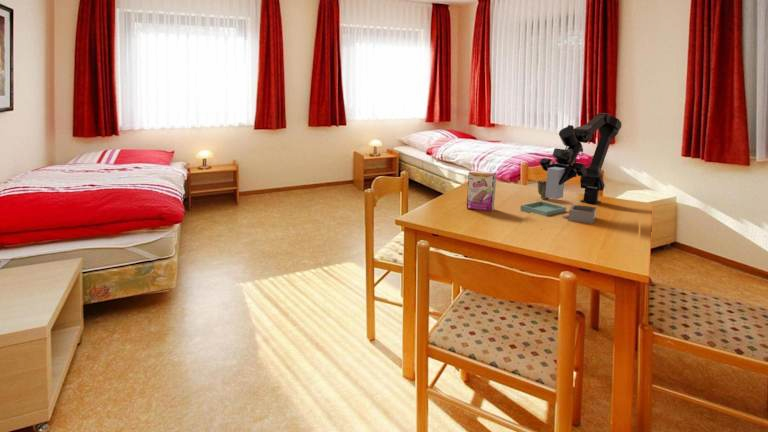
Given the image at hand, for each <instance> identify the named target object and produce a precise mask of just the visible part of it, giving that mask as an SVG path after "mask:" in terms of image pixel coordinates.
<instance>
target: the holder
mask: <svg viewBox="0 0 768 432" xmlns="http://www.w3.org/2000/svg"><path fill="white" fill-rule="evenodd" d="M570 206H571V207H570V208H569V211H568V219H567V220H568V222H575V223H584V224H594V222H595V219H596V214H597V207H596V206H589V205H581V204H579V205H578V204H572V205H570Z"/></svg>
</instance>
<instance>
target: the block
mask: <svg viewBox="0 0 768 432" xmlns="http://www.w3.org/2000/svg"><path fill="white" fill-rule="evenodd" d="M565 169H566V168H559V167H551V168H548V170H547V171H546V180H545V182H546V192H545V197H548V199H552V200H558V199H562V198H563V197H564V188H565V182H564V183H563V184H561V185H559V181H560V179H561V178H562V176H563V174H564V173H565Z"/></svg>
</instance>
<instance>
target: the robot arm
mask: <svg viewBox="0 0 768 432" xmlns="http://www.w3.org/2000/svg"><path fill="white" fill-rule="evenodd" d="M621 128H622V121H621V120H620V118H617V117H614V116H612V115H611V114H609V113H605V112H603V113H602V112H598V113H597V114H596V115H595V117H593V118H592V119H591V120H589V121H588V122H587V123H585V124H584V125H579V126H577V127H574V125H573V124H571V125H569V124H568V125H567V126H566V127H564V128H562V129H560V130H559V133H558V136H559V138H560V140H561V142H562V144H563V145H564V146H565V148H564V149H563V148H557V147H556V148H554V149H553V153H552V154H551V156H552V157H554V158H555V159H554V160H555V161H556V162H554V161H552V159H551V158H545V157H542V158H541V159H540V161H539V164H540V166H541V168H542V170H543V171H545V172H547V170H548V168H551V167H559V168H566V169H565V173H564V174H563V176H562V178H561V179H560V181H559V185H561V184H563V183H564V184H565V183H566V182H568V181H569V180H571V179H573V178H577V176H578V177H580V179H579V181H580V182H579V183H580V189H584V192H583V193H584V194H583V199H580V202H582V203H587V204H591V205H594V204H599V203H601V202H602V201H601V200H599V195H600V191H601V192H603V191H604V189H605V186H606V185H605V182H604V180H603V177H604V175H603V172H602V167H603V165H604V162H605V159H606V156H607V153H608V151H609V147H610V144H611V143H612V140H613V139H614V138H615V136H617V135H618V134H619V131H620V130H621ZM597 130H598V132H599V135H600V136H599V139H598V142H597V145H596V148H595V150H594V153H593V156H592V159H591V161H590V165H589V166H587V167H586V166H585V164H584V163H582V162H577V161H578V160H577V159H578V158H577V157H578V156H579V154H580V153H583V152H584V148H583V145H582V144H588V143H589V142H590V141H591V140H592V138H593V134H594V133H595V132H596V131H597Z"/></svg>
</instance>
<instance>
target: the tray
mask: <svg viewBox="0 0 768 432" xmlns="http://www.w3.org/2000/svg"><path fill="white" fill-rule="evenodd" d="M520 211H521V212H525V213H528V214H531V213H533V214H537V215H540V216H545V217H549V216H551V215H556V214H561V213H565V212H567V206H562V205H558V204H555V203H550V202H546V201H541V200H539V201H535V202H531V203H530V202H529V203H525V204H521V205H520Z"/></svg>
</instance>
